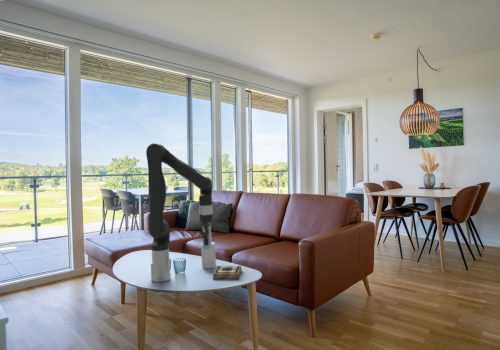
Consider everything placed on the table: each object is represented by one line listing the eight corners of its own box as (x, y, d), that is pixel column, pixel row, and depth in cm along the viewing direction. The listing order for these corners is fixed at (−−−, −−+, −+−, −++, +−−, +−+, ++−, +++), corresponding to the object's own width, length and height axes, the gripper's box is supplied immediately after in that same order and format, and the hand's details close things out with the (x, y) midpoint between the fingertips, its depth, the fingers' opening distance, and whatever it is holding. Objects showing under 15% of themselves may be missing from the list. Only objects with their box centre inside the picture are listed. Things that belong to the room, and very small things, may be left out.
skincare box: (216, 265, 206) (215, 241, 205) (215, 268, 200) (214, 244, 199) (202, 265, 205) (201, 242, 205) (201, 268, 199) (200, 244, 199)
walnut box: (213, 279, 181) (213, 273, 181) (218, 270, 195) (217, 265, 195) (238, 279, 180) (238, 273, 179) (241, 270, 194) (241, 265, 193)
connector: (203, 249, 179) (202, 230, 179) (204, 247, 183) (204, 229, 183) (210, 249, 179) (209, 230, 179) (211, 247, 183) (211, 229, 183)
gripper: (202, 211, 188) (203, 241, 189) (196, 215, 174) (197, 247, 174) (215, 211, 187) (216, 241, 188) (209, 215, 173) (211, 247, 174)
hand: (207, 244), depth 181 cm, fingers closed on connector, 4 cm apart
